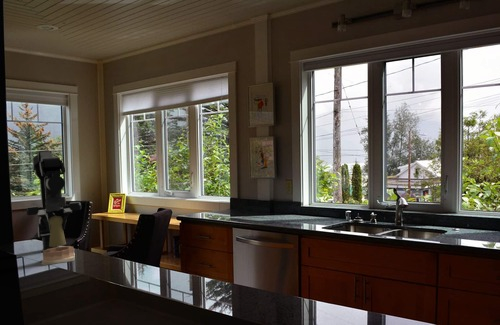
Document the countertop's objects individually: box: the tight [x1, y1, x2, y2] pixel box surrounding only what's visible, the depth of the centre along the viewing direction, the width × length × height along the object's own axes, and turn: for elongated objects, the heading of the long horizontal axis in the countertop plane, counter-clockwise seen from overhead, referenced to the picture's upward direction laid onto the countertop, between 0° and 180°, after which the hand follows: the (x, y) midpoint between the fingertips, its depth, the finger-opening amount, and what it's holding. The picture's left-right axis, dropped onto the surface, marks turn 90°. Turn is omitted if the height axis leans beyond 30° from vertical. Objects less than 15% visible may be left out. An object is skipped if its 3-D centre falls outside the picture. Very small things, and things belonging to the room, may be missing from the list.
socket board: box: [41, 245, 76, 266], centre depth 164 cm, size 11×11×4 cm
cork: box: [48, 215, 67, 247], centre depth 164 cm, size 6×6×11 cm
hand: (56, 230), depth 164 cm, fingers closed on cork, 5 cm apart
